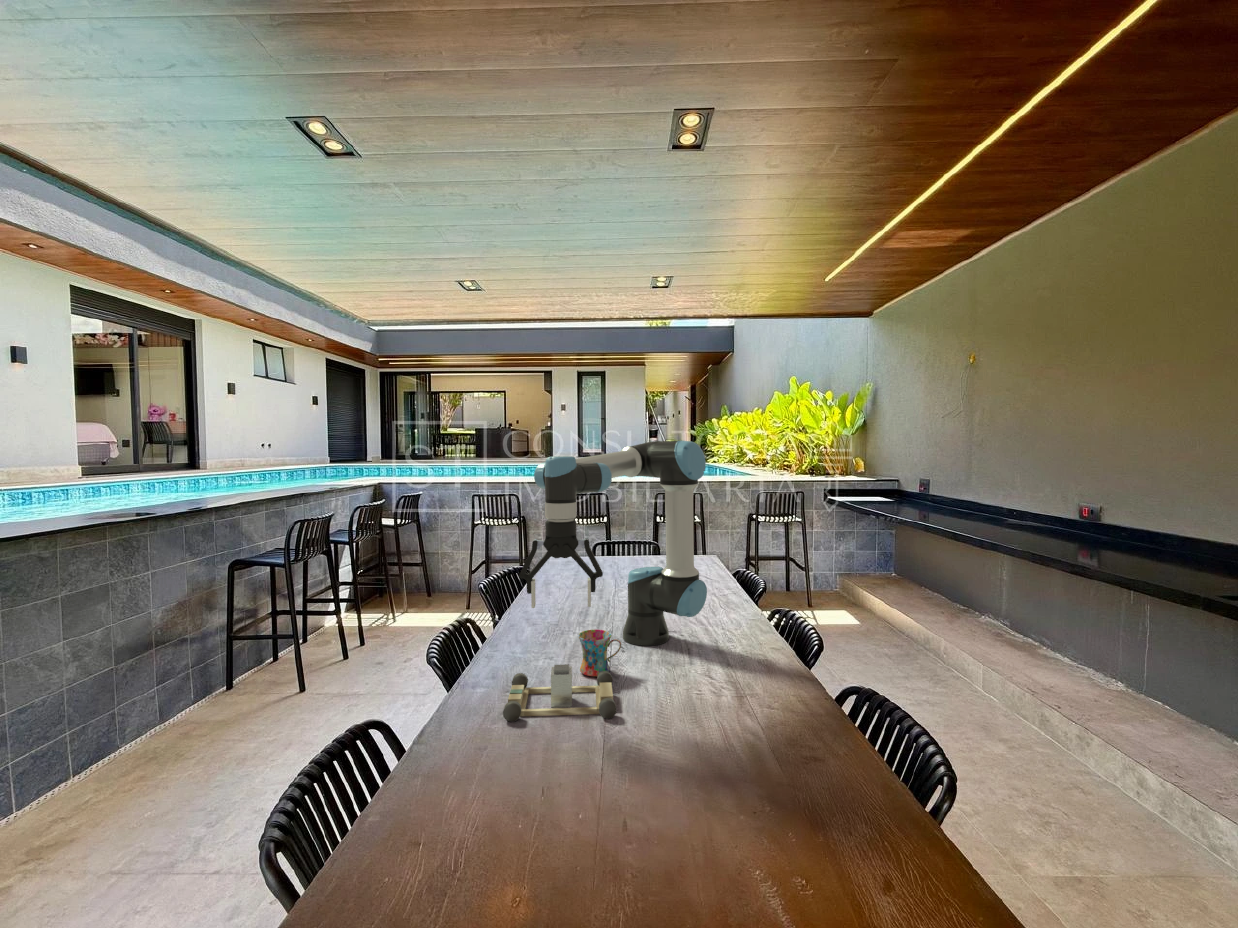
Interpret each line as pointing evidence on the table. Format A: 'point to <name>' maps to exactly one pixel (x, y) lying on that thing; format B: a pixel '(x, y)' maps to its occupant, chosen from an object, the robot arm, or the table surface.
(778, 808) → the table surface
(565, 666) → the engine block
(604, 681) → the chassis
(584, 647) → the mug
